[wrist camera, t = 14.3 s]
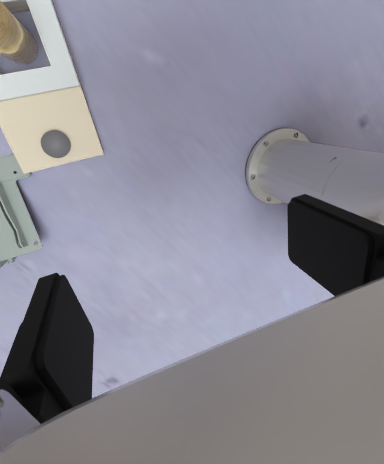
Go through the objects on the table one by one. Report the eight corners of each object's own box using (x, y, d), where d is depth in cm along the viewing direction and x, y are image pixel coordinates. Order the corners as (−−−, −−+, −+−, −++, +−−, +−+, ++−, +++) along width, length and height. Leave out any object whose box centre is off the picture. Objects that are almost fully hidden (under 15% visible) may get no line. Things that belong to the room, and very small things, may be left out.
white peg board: (-123, -132, 22) (-162, -175, 19) (5, -136, 24) (-10, -176, 20) (26, 171, 34) (18, 177, 31) (103, 152, 36) (103, 157, 32)
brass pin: (28, 22, 28) (-14, -28, 18) (43, 61, 30) (12, 35, 20) (-8, 27, 28) (-73, -22, 17) (9, 67, 29) (-40, 43, 19)
